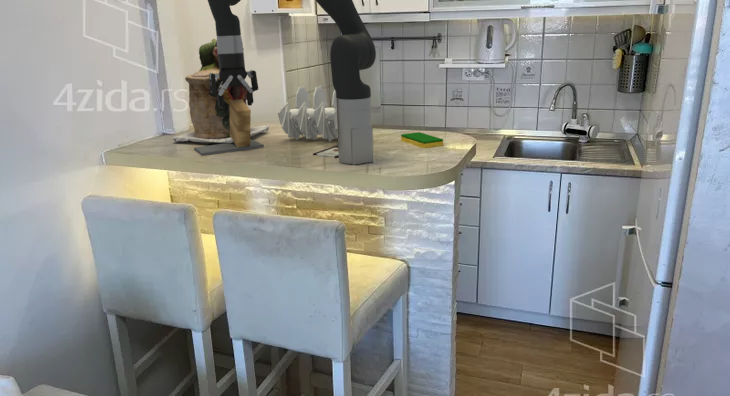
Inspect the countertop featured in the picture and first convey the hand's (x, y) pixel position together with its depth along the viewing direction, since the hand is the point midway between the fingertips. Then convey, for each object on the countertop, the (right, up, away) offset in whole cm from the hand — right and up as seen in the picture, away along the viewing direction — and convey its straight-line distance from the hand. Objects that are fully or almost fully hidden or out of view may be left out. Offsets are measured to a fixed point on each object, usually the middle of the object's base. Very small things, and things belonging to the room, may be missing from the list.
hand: (236, 106), depth 167 cm
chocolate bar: (+33, -14, -4) cm, 36 cm away
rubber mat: (-3, -13, +2) cm, 13 cm away
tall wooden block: (0, -10, +4) cm, 11 cm away
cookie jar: (-9, -7, +19) cm, 22 cm away
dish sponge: (+57, -11, +4) cm, 58 cm away
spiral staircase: (+26, -9, +11) cm, 30 cm away
